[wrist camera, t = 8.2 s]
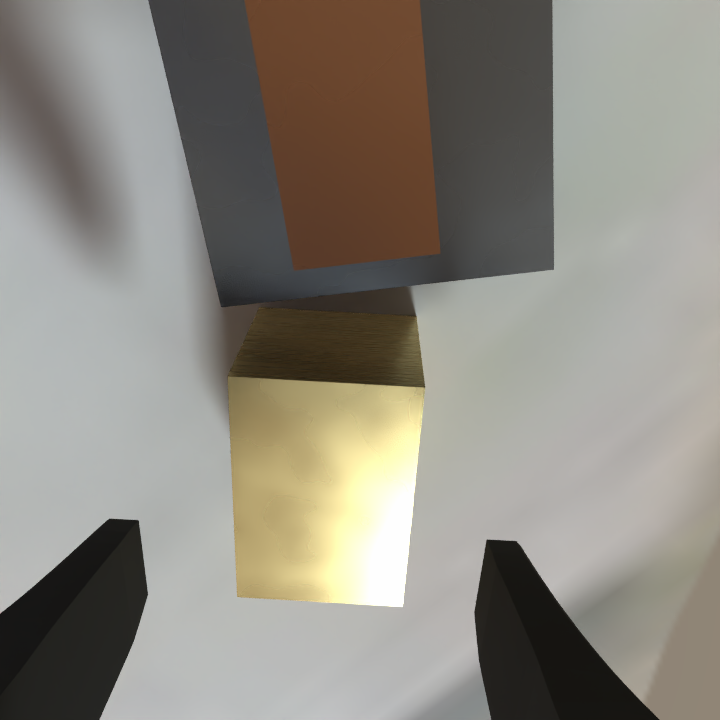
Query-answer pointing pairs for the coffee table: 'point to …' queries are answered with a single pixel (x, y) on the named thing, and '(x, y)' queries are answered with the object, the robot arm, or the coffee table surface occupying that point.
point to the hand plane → (363, 140)
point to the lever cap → (325, 455)
